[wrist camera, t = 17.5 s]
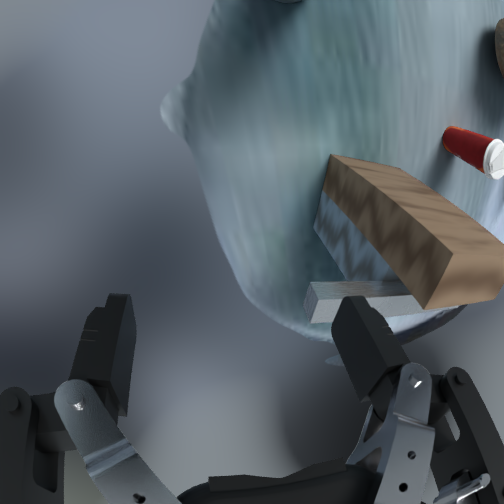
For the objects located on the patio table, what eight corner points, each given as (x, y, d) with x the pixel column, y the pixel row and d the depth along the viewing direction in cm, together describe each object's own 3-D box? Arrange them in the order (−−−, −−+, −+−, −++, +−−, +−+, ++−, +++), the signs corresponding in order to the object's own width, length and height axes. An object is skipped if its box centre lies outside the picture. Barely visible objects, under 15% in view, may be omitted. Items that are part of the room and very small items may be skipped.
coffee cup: (442, 161, 52) (489, 188, 40) (435, 128, 48) (486, 150, 35) (465, 147, 51) (511, 172, 38) (459, 116, 46) (509, 135, 34)
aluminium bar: (310, 281, 32) (318, 299, 30) (457, 278, 37) (468, 290, 35) (302, 305, 34) (310, 323, 31) (447, 295, 39) (457, 307, 37)
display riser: (330, 154, 49) (453, 253, 22) (399, 168, 52) (517, 256, 26) (313, 227, 57) (392, 358, 30) (378, 232, 60) (467, 339, 34)
